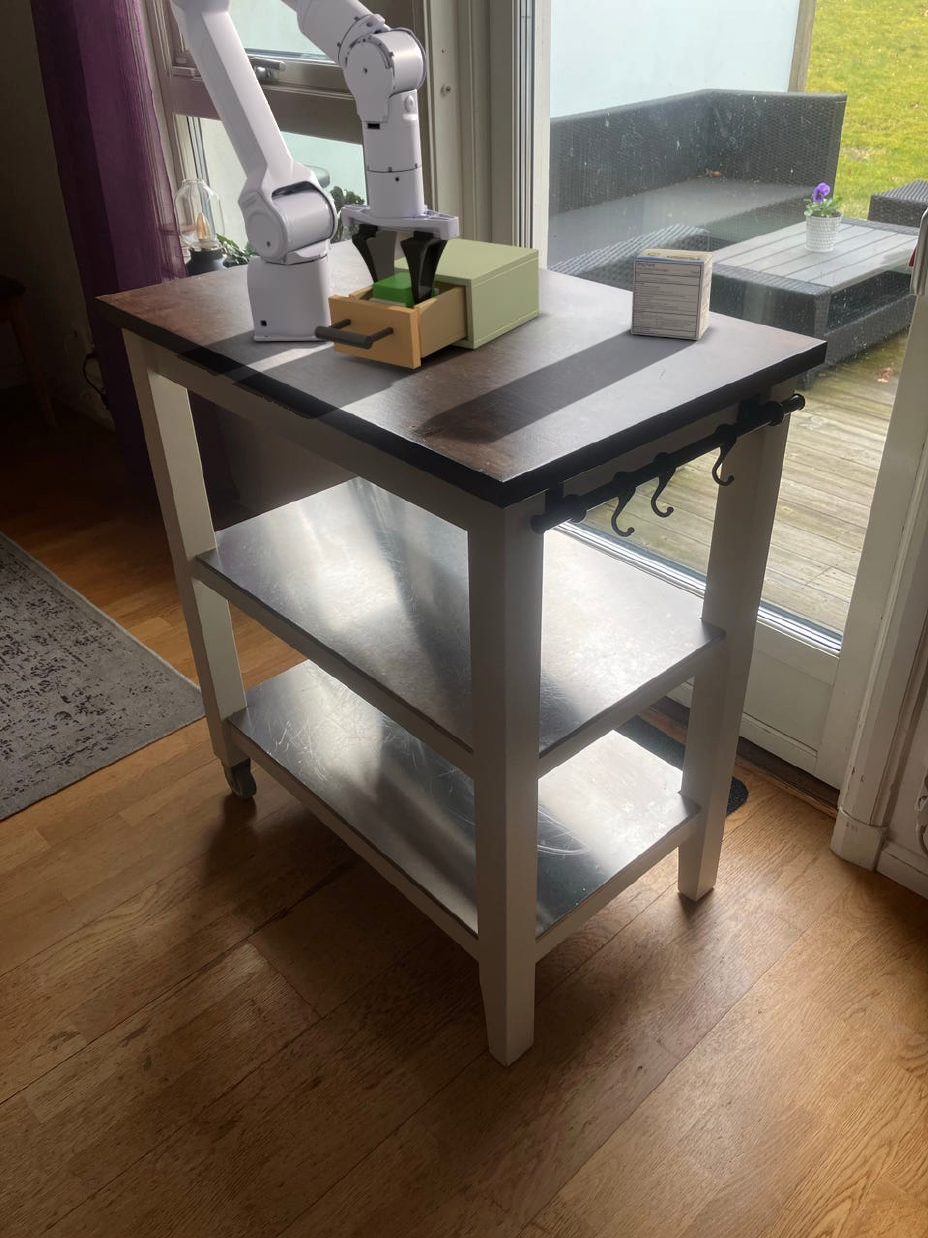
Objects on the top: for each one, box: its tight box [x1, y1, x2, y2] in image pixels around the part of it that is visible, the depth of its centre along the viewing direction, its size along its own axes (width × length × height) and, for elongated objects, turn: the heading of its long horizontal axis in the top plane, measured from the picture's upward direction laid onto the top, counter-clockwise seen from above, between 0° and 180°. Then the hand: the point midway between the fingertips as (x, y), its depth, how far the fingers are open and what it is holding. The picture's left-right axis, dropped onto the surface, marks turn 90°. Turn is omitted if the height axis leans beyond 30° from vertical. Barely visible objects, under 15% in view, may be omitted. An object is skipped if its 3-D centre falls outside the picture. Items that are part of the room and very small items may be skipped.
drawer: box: [315, 281, 468, 370], centre depth 111 cm, size 17×11×6 cm, turn 144°
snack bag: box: [369, 272, 439, 309], centre depth 111 cm, size 7×5×4 cm
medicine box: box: [630, 248, 714, 341], centre depth 113 cm, size 8×4×9 cm, turn 65°
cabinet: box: [394, 237, 540, 350], centre depth 119 cm, size 14×13×8 cm
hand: (404, 299), depth 111 cm, fingers closed on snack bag, 4 cm apart
